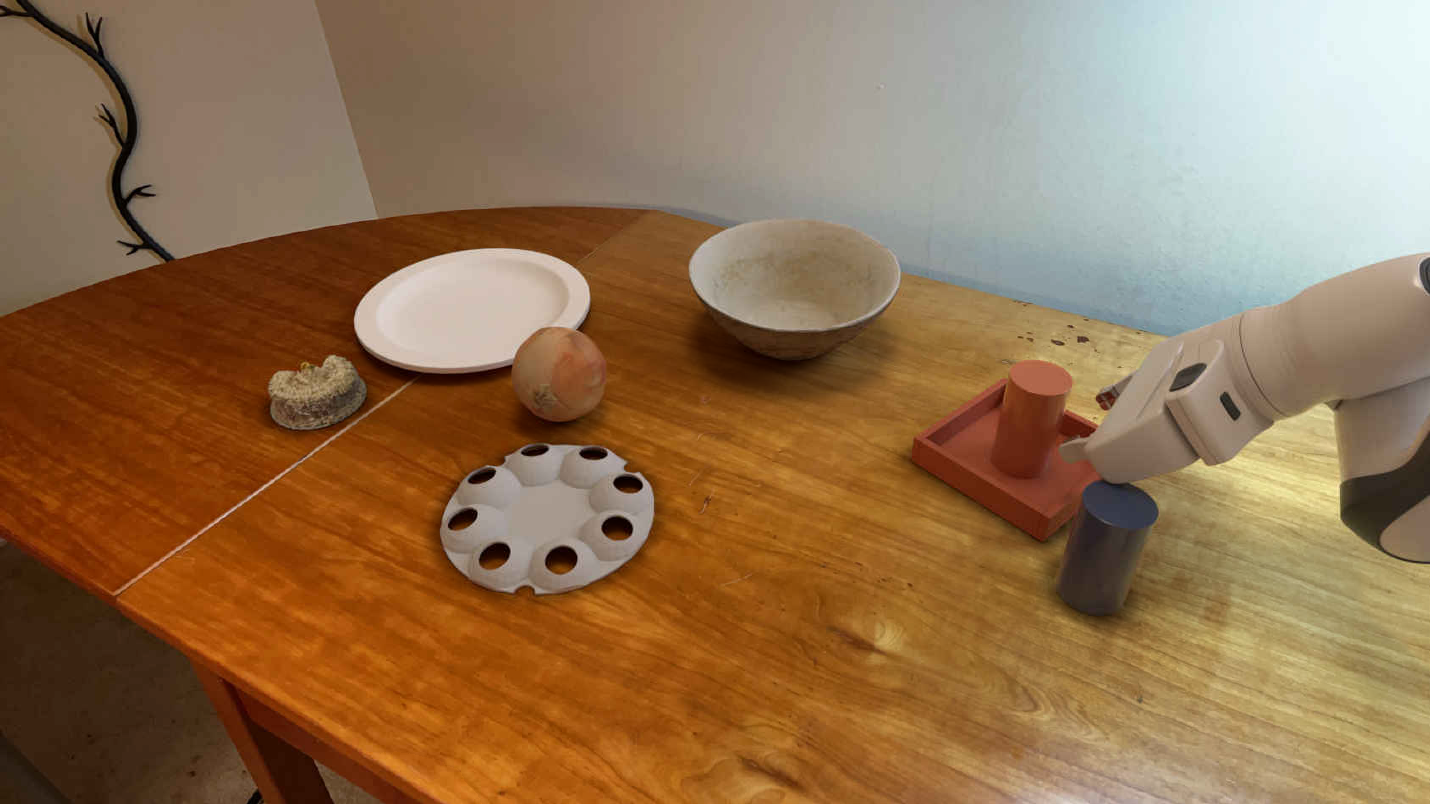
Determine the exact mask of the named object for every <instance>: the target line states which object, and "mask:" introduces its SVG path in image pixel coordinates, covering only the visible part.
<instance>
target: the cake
mask: <svg viewBox="0 0 1430 804" xmlns="http://www.w3.org/2000/svg"><path fill="white" fill-rule="evenodd" d="M304 365H305V367H304ZM303 367H304V368H303ZM300 369H301V371H298V370H296V371H290V370H285V371H283V370H281V371H280V370H279V371H276V373H274V374H273V376H272V378H271V379H270V381H268V386H267V392H268V395H269V399H270V400H271V404H270V415H271V419H272V420H274V422H275V423H277V425H279V426H282V427H285V428H286V429H291V430H293V431H294V430H299V431H303V430H310V431H311V430H316V429H321V428H325V427H328V426H331V425H335V424H337V423H339V422H342V421H343V420H344V419H346V418H347V417H350V416H351V415H352V414H353V413H355V412H356V411H357V410H358V409H359V408H361V406H362V404H363V403H364V402H365V399H366V396H367V392H368V388H367V384H366V383H365V380H363V379H362V378H361V377H360V375H358V370H357V368H356V367H355V366H354V365H353V363H352V362H351V361H348V360H347V358H346V357H341V356H337V355H336V354H333V355H328V357H327V358H325V360H324V362H323V363H322V366H321V367H319V366H316V365H314V364H311V363H309V362H308V361H304V362H302V363H301V364H300Z"/></svg>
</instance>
